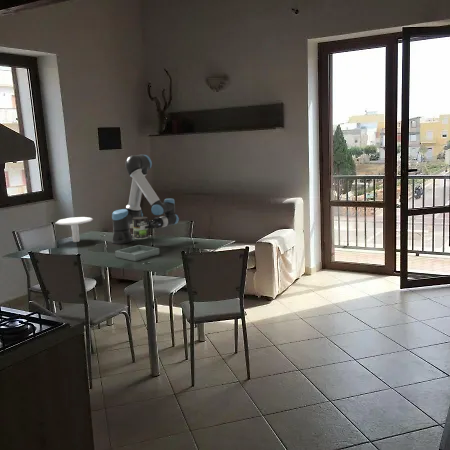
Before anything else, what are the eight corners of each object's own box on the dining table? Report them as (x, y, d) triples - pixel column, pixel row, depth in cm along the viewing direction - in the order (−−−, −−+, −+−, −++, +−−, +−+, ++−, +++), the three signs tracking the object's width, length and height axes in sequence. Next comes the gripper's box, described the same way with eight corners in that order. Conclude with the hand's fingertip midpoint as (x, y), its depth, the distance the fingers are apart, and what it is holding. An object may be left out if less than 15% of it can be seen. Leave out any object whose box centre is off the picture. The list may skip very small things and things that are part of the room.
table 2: (81, 246, 351) (78, 223, 348) (49, 244, 360) (46, 222, 357) (102, 237, 377) (100, 216, 374) (72, 237, 386) (69, 216, 383)
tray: (115, 257, 313) (115, 251, 312) (139, 250, 328) (139, 244, 327) (135, 261, 300) (134, 254, 299) (159, 254, 315) (159, 248, 314)
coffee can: (150, 238, 332) (149, 217, 329) (136, 240, 327) (134, 219, 324) (146, 235, 341) (144, 215, 338) (131, 237, 336) (130, 217, 333)
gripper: (171, 229, 339) (146, 234, 323) (150, 225, 354) (125, 230, 337) (170, 218, 338) (146, 223, 321) (149, 215, 352) (124, 220, 336)
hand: (135, 227), depth 329 cm, fingers closed on coffee can, 10 cm apart
